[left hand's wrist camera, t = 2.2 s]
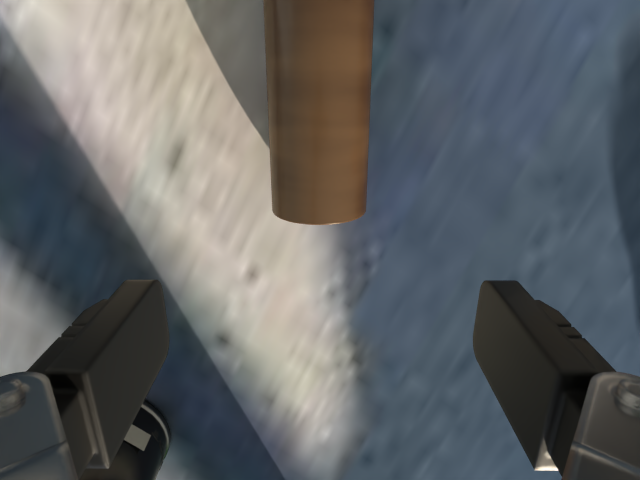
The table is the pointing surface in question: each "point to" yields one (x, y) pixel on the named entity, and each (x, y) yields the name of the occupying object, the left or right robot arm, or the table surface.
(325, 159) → the rod
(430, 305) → the table surface
